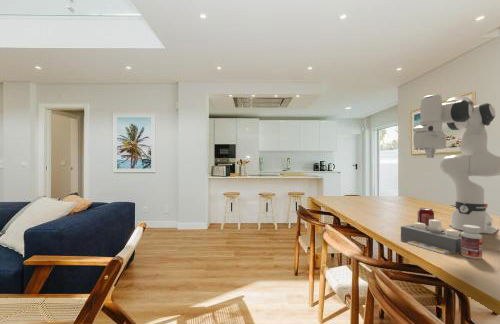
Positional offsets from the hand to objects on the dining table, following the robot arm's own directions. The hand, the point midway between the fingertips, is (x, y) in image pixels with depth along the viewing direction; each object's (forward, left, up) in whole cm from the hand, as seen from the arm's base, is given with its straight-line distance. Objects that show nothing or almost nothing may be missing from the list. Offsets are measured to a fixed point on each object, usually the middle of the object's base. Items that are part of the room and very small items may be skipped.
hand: (430, 158), depth 125 cm
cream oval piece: (+10, +1, -36) cm, 37 cm away
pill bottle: (+14, +23, -37) cm, 46 cm away
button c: (+10, +14, -36) cm, 40 cm away
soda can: (-4, -4, -37) cm, 38 cm away
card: (+19, +10, -37) cm, 43 cm away
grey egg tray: (+10, +8, -37) cm, 39 cm away
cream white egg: (+10, +8, -33) cm, 36 cm away
